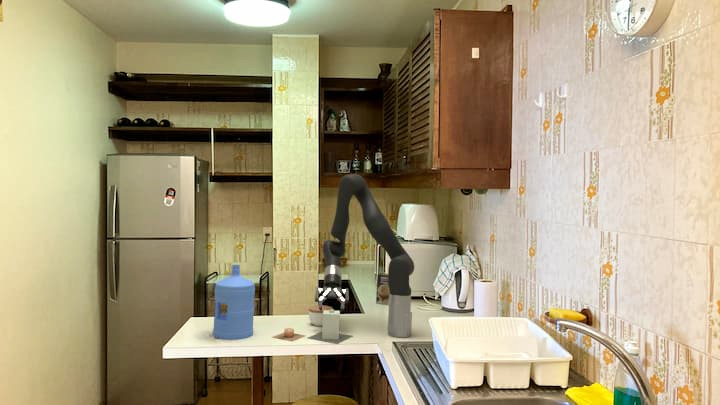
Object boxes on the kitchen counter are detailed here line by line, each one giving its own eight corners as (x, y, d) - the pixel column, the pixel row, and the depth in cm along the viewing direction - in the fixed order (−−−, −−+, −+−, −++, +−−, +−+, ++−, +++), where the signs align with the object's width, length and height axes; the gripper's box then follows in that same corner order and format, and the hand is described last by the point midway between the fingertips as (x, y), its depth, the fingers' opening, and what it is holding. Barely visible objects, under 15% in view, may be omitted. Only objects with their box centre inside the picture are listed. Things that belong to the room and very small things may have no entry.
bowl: (295, 336, 198) (295, 329, 198) (290, 338, 195) (290, 331, 195) (287, 334, 200) (288, 327, 200) (282, 336, 197) (282, 329, 197)
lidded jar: (310, 328, 212) (311, 307, 212) (306, 322, 223) (307, 301, 223) (334, 328, 215) (335, 306, 215) (329, 322, 225) (330, 301, 225)
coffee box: (375, 303, 271) (376, 274, 271) (378, 301, 277) (379, 272, 277) (391, 305, 268) (393, 275, 268) (394, 303, 274) (395, 274, 274)
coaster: (306, 336, 200) (306, 335, 200) (292, 342, 191) (292, 341, 191) (285, 332, 204) (285, 331, 204) (271, 338, 195) (271, 337, 195)
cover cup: (322, 334, 202) (323, 307, 202) (338, 335, 203) (339, 308, 203) (322, 339, 196) (323, 311, 196) (338, 339, 196) (339, 311, 196)
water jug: (252, 329, 207) (255, 262, 207) (253, 340, 192) (256, 268, 192) (213, 330, 203) (216, 262, 203) (211, 341, 188) (214, 267, 188)
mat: (353, 336, 202) (353, 335, 202) (337, 345, 190) (337, 344, 190) (324, 331, 209) (324, 330, 209) (306, 339, 196) (306, 338, 196)
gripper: (316, 272, 212) (314, 304, 201) (349, 273, 213) (349, 305, 201) (316, 282, 217) (314, 314, 206) (348, 283, 218) (348, 315, 207)
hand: (331, 310), depth 204 cm, fingers open, 8 cm apart
